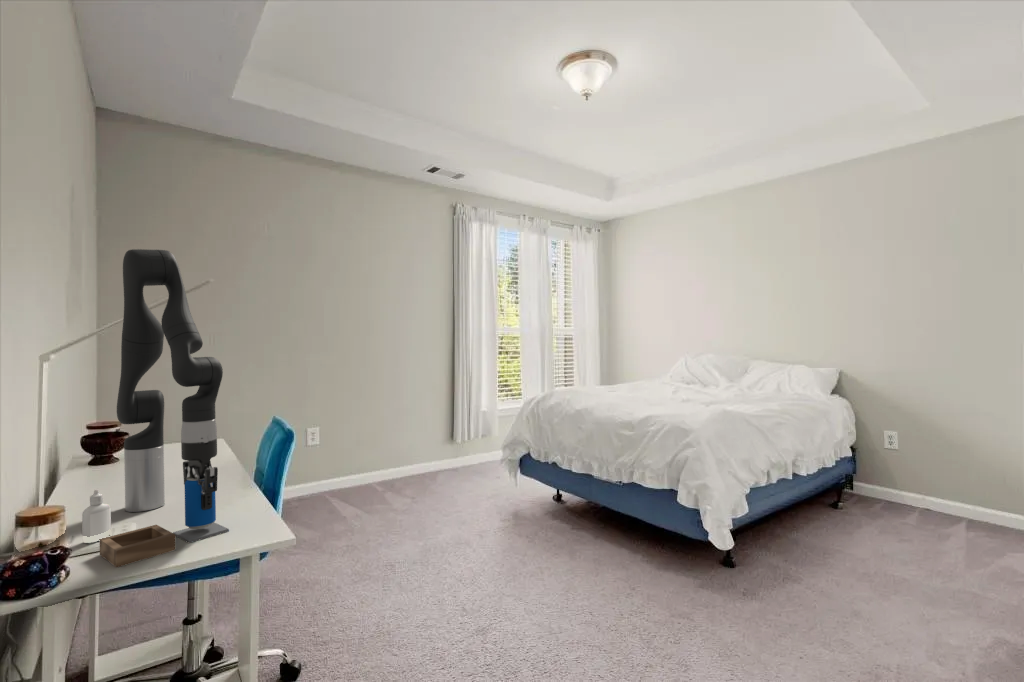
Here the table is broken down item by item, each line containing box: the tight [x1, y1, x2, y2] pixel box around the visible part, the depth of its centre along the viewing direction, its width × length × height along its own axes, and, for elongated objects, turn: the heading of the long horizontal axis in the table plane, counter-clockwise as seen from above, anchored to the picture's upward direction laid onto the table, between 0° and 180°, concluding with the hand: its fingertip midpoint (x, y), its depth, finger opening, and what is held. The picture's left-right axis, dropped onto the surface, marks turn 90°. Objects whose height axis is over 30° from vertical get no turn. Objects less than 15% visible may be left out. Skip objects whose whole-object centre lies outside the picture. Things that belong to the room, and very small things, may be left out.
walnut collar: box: [99, 524, 177, 568], centre depth 117 cm, size 11×11×4 cm
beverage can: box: [184, 477, 217, 529], centre depth 128 cm, size 6×6×12 cm
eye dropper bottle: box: [81, 488, 112, 537], centre depth 124 cm, size 4×6×12 cm
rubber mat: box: [172, 522, 230, 543], centre depth 128 cm, size 9×9×1 cm
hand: (200, 506), depth 128 cm, fingers closed on beverage can, 6 cm apart
